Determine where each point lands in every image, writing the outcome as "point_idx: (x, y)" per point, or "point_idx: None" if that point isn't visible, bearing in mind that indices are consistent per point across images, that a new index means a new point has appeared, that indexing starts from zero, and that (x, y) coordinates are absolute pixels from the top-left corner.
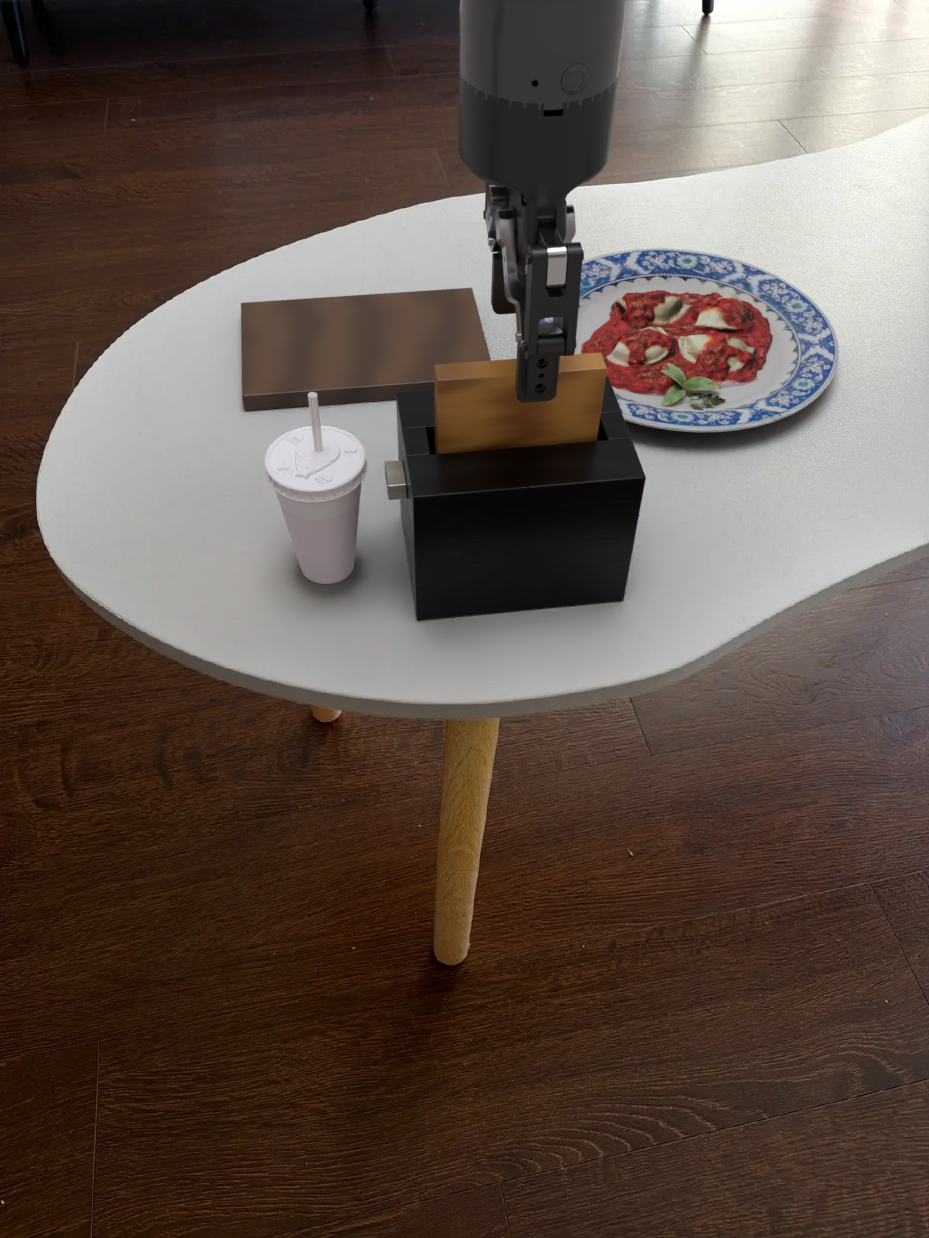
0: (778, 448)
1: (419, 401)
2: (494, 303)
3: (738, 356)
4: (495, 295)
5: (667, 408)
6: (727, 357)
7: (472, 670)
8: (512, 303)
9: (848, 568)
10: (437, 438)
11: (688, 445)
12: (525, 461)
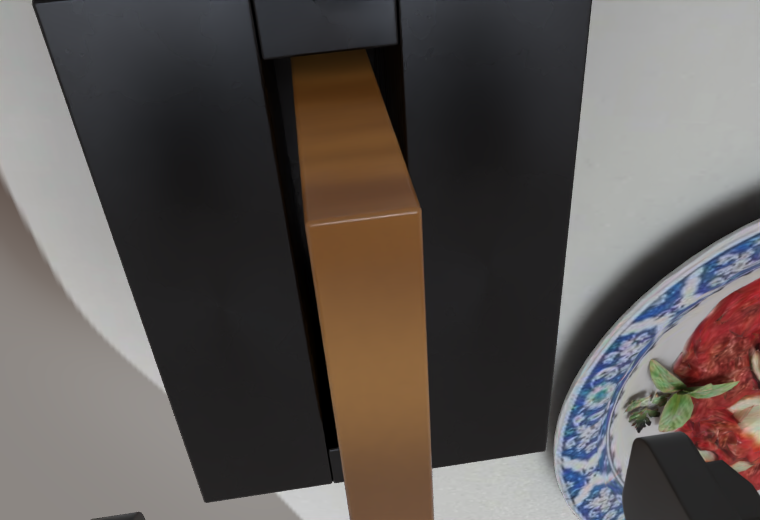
0: (533, 467)
1: (534, 25)
2: (657, 469)
3: None
4: (674, 501)
5: (640, 368)
6: (715, 453)
7: (11, 19)
8: (645, 507)
9: (300, 511)
10: (304, 94)
11: (564, 376)
12: (241, 305)
